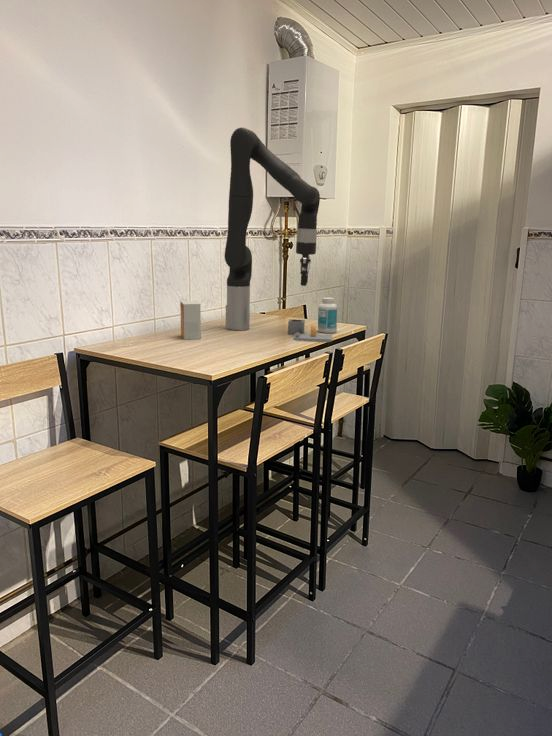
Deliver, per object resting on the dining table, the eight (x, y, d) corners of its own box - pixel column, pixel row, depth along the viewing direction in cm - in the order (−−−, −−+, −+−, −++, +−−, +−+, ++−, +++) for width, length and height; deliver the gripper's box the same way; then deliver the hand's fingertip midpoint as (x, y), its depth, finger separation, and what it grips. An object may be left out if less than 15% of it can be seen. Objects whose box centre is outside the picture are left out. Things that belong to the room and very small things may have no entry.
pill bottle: (336, 330, 233) (337, 297, 230) (336, 333, 226) (337, 299, 223) (317, 329, 234) (319, 296, 231) (317, 333, 227) (318, 298, 224)
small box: (180, 335, 217) (180, 300, 213) (197, 335, 218) (197, 300, 215) (183, 339, 209) (183, 303, 206) (201, 339, 211) (200, 303, 208)
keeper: (293, 340, 211) (293, 327, 210) (295, 336, 220) (295, 323, 219) (331, 342, 210) (332, 328, 209) (332, 337, 219) (332, 324, 218)
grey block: (287, 334, 223) (288, 321, 222) (289, 331, 229) (289, 319, 227) (303, 335, 222) (303, 322, 221) (304, 332, 228) (304, 319, 227)
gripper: (297, 240, 225) (295, 282, 229) (295, 241, 211) (293, 285, 215) (316, 241, 224) (314, 283, 228) (315, 242, 211) (313, 286, 215)
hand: (304, 284), depth 222 cm, fingers open, 8 cm apart
